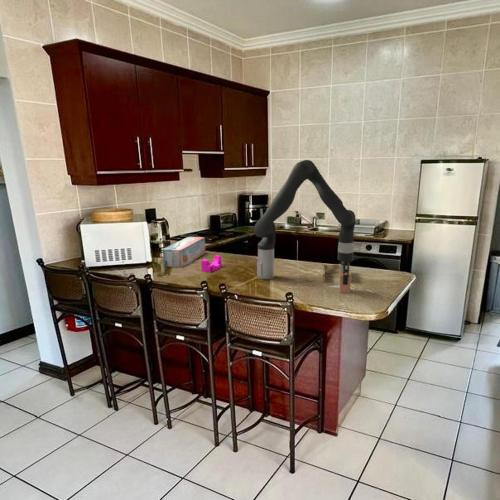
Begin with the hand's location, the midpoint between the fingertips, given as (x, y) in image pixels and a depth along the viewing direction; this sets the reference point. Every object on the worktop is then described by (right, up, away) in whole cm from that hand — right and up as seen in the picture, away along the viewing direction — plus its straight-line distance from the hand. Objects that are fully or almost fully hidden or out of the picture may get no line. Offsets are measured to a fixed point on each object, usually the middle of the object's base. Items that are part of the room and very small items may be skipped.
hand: (344, 281), depth 193 cm
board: (0, -6, +1) cm, 6 cm away
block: (0, -5, +1) cm, 5 cm away
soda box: (-93, +9, +76) cm, 120 cm away
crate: (+1, 0, +26) cm, 26 cm away
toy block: (-71, +3, +50) cm, 87 cm away
